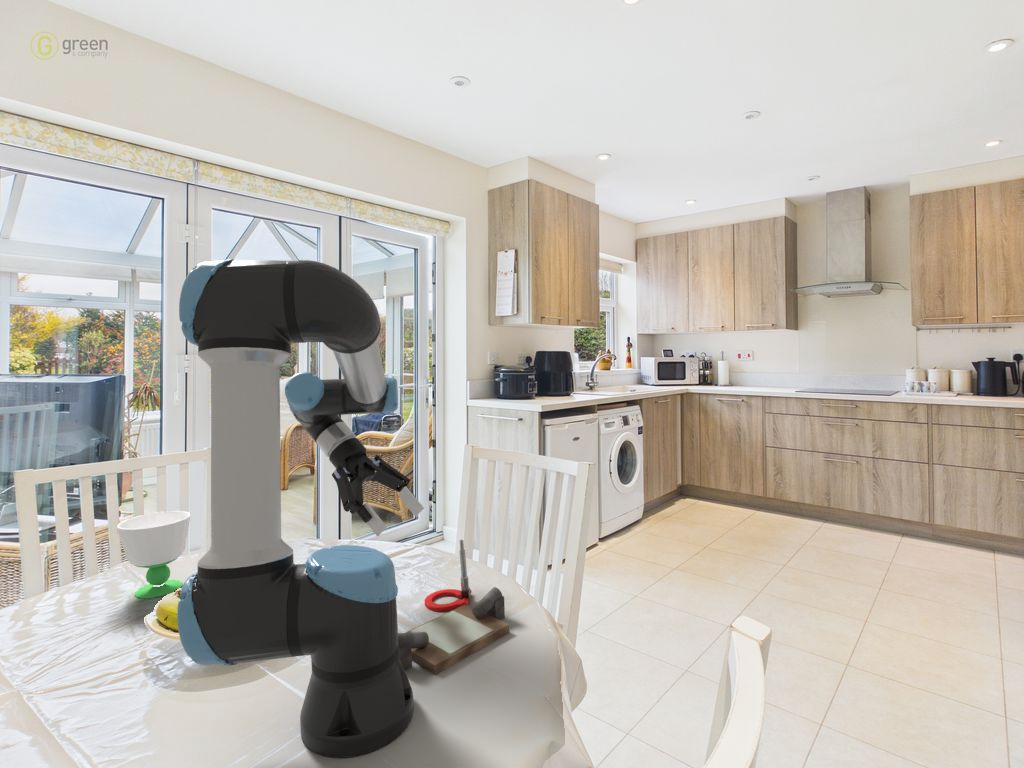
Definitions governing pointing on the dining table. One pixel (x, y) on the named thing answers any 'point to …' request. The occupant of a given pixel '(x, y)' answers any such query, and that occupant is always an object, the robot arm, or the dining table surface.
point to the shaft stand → (454, 634)
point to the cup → (155, 547)
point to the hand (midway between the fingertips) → (402, 521)
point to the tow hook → (462, 594)
